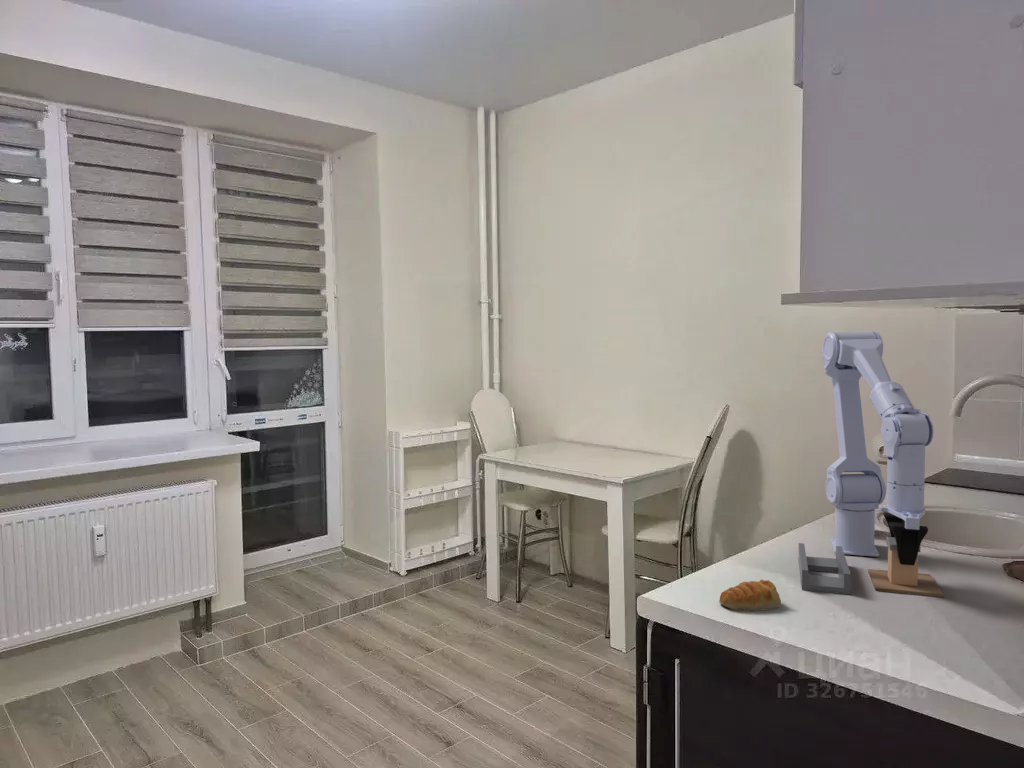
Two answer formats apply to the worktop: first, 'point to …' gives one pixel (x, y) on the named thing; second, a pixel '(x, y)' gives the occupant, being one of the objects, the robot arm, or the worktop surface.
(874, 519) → the robot arm
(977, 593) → the worktop surface
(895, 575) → the plug
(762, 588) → the pastry
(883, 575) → the walnut pad
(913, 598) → the worktop surface
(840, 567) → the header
